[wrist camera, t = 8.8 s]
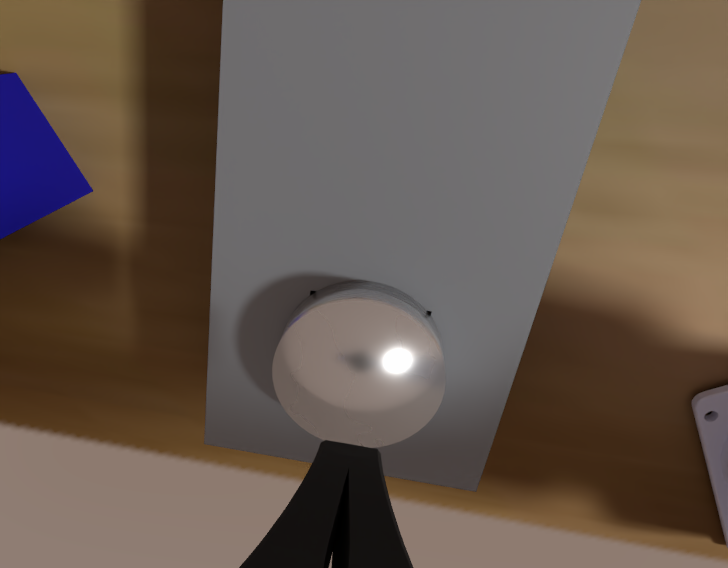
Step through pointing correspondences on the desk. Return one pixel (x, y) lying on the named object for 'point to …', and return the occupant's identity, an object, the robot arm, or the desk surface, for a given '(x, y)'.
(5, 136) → the cable clip
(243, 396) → the grey flat block
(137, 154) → the desk surface
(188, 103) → the desk surface
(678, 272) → the desk surface
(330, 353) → the headed pin
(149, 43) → the desk surface
